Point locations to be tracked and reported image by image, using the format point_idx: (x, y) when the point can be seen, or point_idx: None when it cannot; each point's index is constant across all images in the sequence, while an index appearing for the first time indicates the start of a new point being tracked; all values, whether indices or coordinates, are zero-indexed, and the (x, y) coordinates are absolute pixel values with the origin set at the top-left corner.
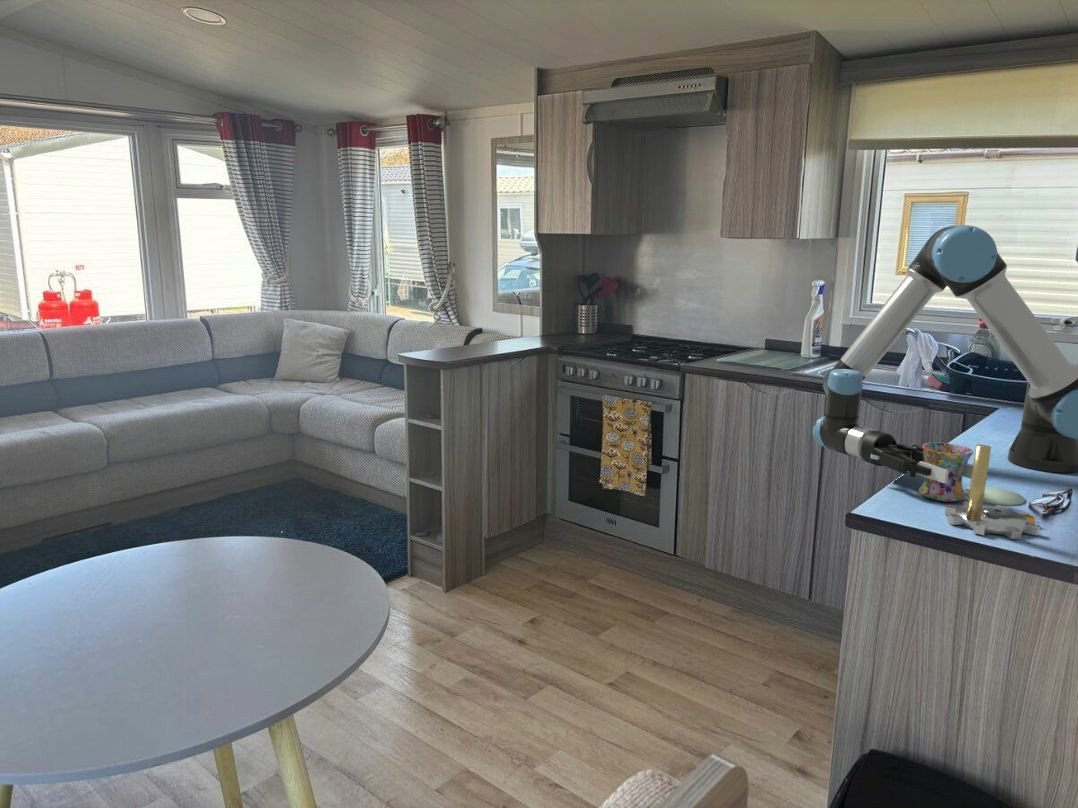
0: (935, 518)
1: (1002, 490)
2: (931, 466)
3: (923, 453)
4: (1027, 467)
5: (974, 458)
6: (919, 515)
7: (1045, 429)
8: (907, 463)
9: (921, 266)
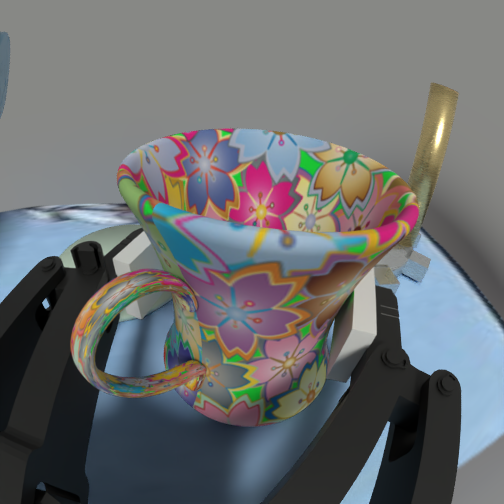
0: (423, 306)
1: (69, 257)
2: (373, 273)
3: (103, 381)
4: None
5: (452, 120)
6: (444, 331)
7: None
8: (440, 373)
9: None
